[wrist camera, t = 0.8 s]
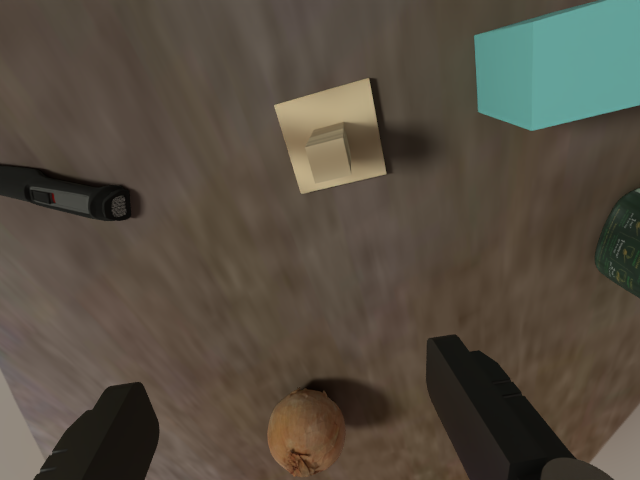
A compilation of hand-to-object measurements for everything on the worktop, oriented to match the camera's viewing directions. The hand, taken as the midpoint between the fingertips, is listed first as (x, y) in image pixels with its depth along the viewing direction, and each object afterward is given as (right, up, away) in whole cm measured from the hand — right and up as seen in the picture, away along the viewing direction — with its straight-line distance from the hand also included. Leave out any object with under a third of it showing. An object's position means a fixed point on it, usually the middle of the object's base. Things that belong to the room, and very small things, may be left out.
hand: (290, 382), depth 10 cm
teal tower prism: (+16, +18, +16) cm, 29 cm away
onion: (0, -17, +36) cm, 40 cm away
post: (+2, +13, +20) cm, 24 cm away
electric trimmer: (-26, +9, +25) cm, 37 cm away
